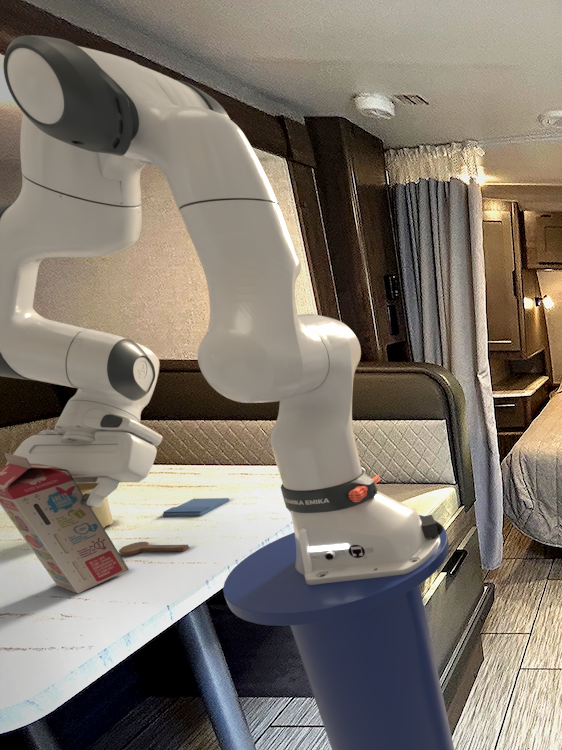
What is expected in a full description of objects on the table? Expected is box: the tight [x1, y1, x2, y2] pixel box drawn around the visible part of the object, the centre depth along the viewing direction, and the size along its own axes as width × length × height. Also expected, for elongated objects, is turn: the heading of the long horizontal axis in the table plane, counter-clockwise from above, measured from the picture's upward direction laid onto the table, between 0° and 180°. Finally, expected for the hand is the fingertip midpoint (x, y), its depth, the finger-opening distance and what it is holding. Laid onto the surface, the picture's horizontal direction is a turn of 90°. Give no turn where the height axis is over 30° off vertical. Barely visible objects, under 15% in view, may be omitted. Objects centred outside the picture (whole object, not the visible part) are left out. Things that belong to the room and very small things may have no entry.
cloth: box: [162, 497, 230, 517], centre depth 109 cm, size 8×8×1 cm
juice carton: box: [0, 452, 129, 595], centre depth 78 cm, size 7×7×22 cm
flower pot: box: [76, 483, 114, 529], centre depth 99 cm, size 9×9×9 cm
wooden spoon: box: [118, 541, 190, 557], centre depth 91 cm, size 12×4×1 cm, turn 90°
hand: (59, 506), depth 78 cm, fingers open, 8 cm apart
